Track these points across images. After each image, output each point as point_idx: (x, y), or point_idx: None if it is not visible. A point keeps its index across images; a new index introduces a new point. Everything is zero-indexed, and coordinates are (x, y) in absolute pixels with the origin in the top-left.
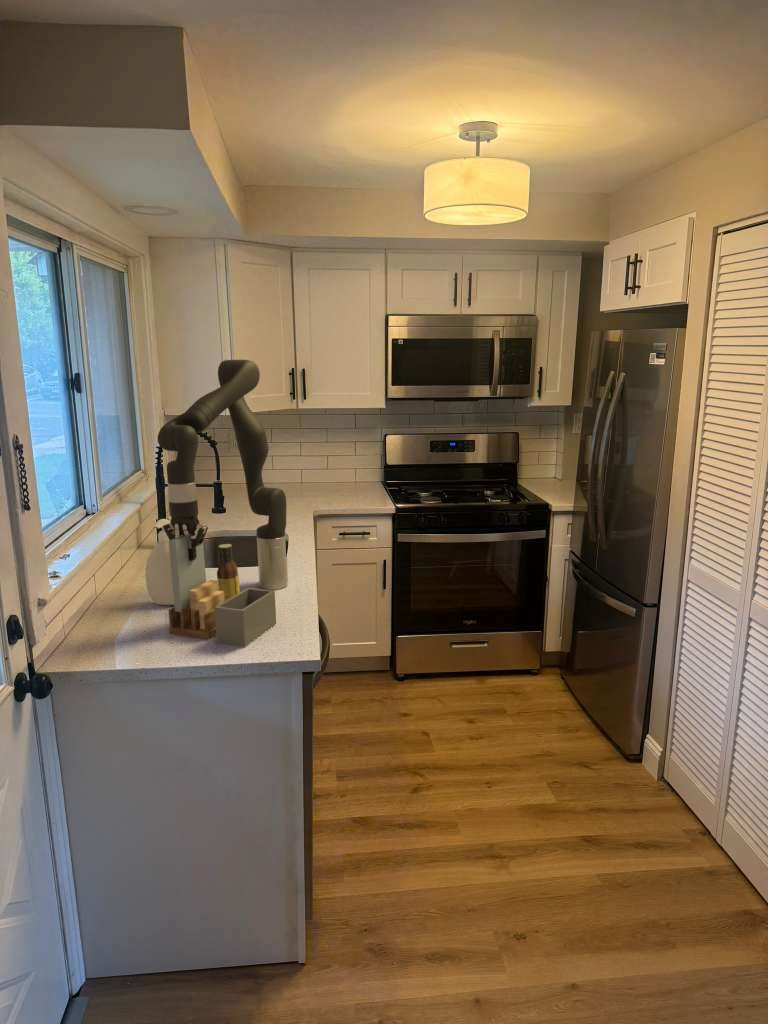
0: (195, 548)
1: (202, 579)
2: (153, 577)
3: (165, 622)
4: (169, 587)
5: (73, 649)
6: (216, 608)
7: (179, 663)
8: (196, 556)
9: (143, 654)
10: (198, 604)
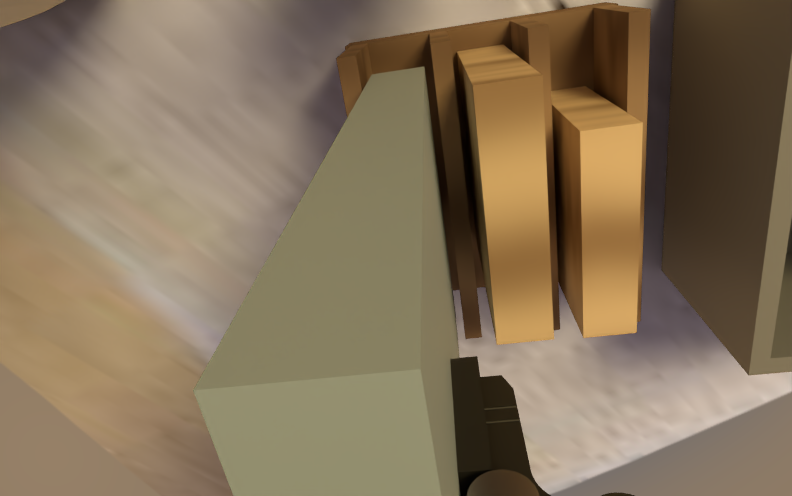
0: (531, 478)
1: (430, 144)
2: None
3: (262, 191)
4: (6, 13)
5: (203, 493)
6: (761, 371)
7: (627, 443)
8: (511, 388)
9: None
10: (578, 325)
